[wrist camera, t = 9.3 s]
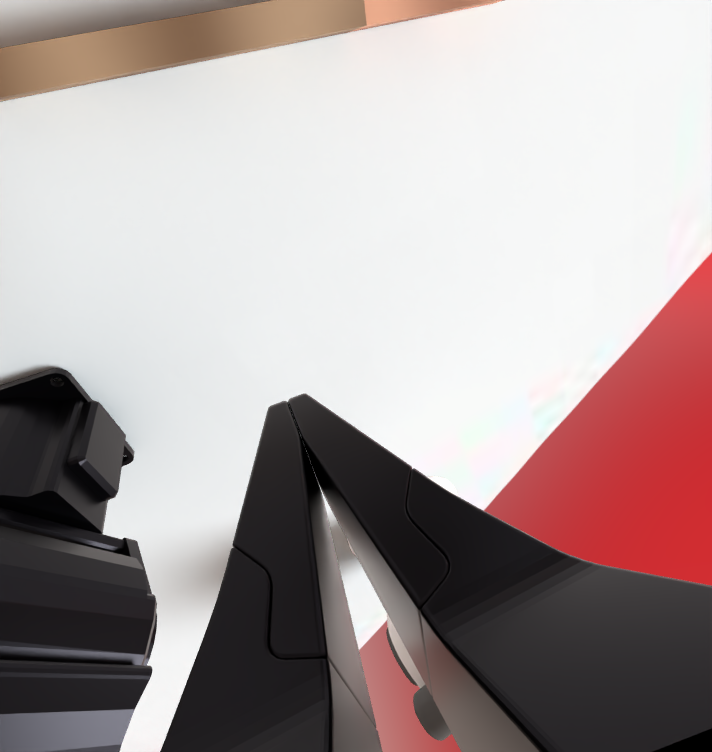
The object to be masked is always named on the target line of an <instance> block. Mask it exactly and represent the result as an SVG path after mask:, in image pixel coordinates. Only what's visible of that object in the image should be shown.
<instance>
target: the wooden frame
mask: <svg viewBox="0 0 712 752" xmlns="http://www.w3.org/2000/svg"><path fill="white" fill-rule="evenodd" d="M500 1H503V0H272V1H266V2H260V3H255V4H249V5H243V6H237V7H232V8H226V9H220V10H215V11H209V12H203V13H197V14H192V15H186V16H180V17H175V18H169V19H163V20H158V21H152V22H146V23H140V24H135V25H129V26H123V27H118V28H112V29H106V30H100V31H95V32H89V33H83V34H78V35H72V36H66V37H61V38H55V39H49V40H43V41H38V42H32V43H26V44H21V45H15V46H9V47H3V48H0V101H5V100H10V99H15V98H20V97H26V96H31V95H36V94H41V93H46V92H51V91H56V90H61V89H66V88H71V87H76V86H81V85H86V84H91V83H96V82H101V81H106V80H111V79H116V78H121V77H126V76H131V75H136V74H141V73H146V72H151V71H156V70H161V69H166V68H171V67H176V66H181V65H187V64H192V63H197V62H202V61H207V60H212V59H217V58H222V57H227V56H232V55H237V54H242V53H247V52H252V51H257V50H262V49H267V48H272V47H277V46H282V45H287V44H292V43H297V42H302V41H307V40H312V39H317V38H322V37H327V36H332V35H337V34H342V33H348V32H353V31H358V30H363V29H368V28H373V27H378V26H383V25H388V24H393V23H398V22H403V21H408V20H413V19H418V18H423V17H428V16H433V15H438V14H443V13H448V12H453V11H458V10H463V9H468V8H473V7H478V6H483V5H488V4H493V3H496V2H500Z"/></svg>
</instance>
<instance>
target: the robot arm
mask: <svg viewBox="0 0 712 752" xmlns="http://www.w3.org/2000/svg"><path fill="white" fill-rule="evenodd" d="M53 378H61V379H62V380H63V382H57V381H55V380H53ZM288 403H289V404H288ZM289 406H290V407H289ZM291 411H292V412H291ZM294 419H295V420H294ZM297 427H298V428H297ZM299 432H300V433H299ZM300 435H301V436H300ZM125 438H126V435H125V434H124V432H123V431H122V430H121V429H120V427H119V426H118V425H117V424H116V422H115V421H114V420H113V419H112V417H111V416H110V415H109V414H108V413H107V411H106V410H105V409H104V408H103V406H102V405H101V404H100V403H99V402H97V401H94V400H92V399H91V398H90V397H89V395H88V394H87V393H86V392H85V391H84V389H83V388H82V387H81V386H80V384H79V383H78V382H77V381H76V380H75V378H74V377H73V376H72V375H71V374H70V373H69V372H68V371H67V370H64V369H60V368H55V369H50V370H47V371H44V372H41V373H38V374H35V375H32V376H29V377H26V378H23V379H19V380H16V381H13V382H10V383H7V384H4V385H1V386H0V752H119V751H120V748H121V744H122V741H123V739H124V736H125V733H126V731H127V728H128V725H129V723H130V720H131V717H132V715H133V712H134V709H135V707H136V705H137V703H138V701H139V699H140V697H141V695H142V693H143V691H144V689H145V687H146V685H147V683H148V681H149V680H150V677H151V675H152V667H151V666H147V663H148V661H149V658H150V655H151V652H152V648H153V645H154V640H155V634H156V627H157V614H156V608H157V603H156V598H155V596H154V595H153V594H152V593H151V589H150V585H149V582H148V578H147V575H146V571H145V568H144V564H143V561H142V557H141V554H140V550H139V547H138V543H137V541H135V540H132V539H128V538H123V539H118V538H114V537H111V536H107V535H103V528H104V521H105V515H106V509H107V502H108V500H109V499H112V498H114V497H116V494H117V492H118V489H119V481H120V474H121V467H122V466H124V465H127V464H129V463H131V462H132V461H133V458H134V451H133V449H132V448H131V447H130V445H129V444H128V443H127V442H126V441H125ZM302 440H303V441H302ZM303 443H304V444H303ZM305 448H306V449H305ZM306 451H307V452H306ZM123 455H126V456H125V457H123ZM308 456H309V457H308ZM309 459H310V460H309ZM311 464H312V465H311ZM313 469H314V470H313ZM314 472H315V473H314ZM316 477H317V478H316ZM317 480H318V481H317ZM319 485H320V486H319ZM320 487H321V489H320ZM321 490H322V492H323V494H324V496H325V498H326V500H327V502H328V504H329V506H330V508H331V510H332V512H333V513H334V515H335V517H336V519H337V521H338V523H339V525H340V526H341V528H342V530H343V532H344V534H345V536H346V538H347V539H348V541H349V543H350V545H351V547H352V549H353V551H354V552H355V554H356V556H357V558H358V560H359V562H360V564H361V566H362V567H363V569H364V571H365V573H366V575H367V577H368V579H369V580H370V582H371V584H372V586H373V588H374V590H375V592H376V593H377V595H378V597H379V599H380V601H381V603H382V605H383V606H384V608H385V610H386V612H387V614H388V616H389V618H390V619H391V621H392V623H393V625H394V627H395V629H396V631H397V632H398V634H399V636H400V638H401V640H402V642H403V644H404V646H405V647H406V649H407V651H408V653H409V655H410V657H411V659H412V660H413V662H414V664H415V666H416V668H417V670H418V672H419V673H420V675H421V677H422V679H423V681H424V683H425V685H426V686H427V688H428V690H429V692H430V694H431V695H432V696H433V699H434V701H435V703H436V705H437V707H438V709H439V711H440V713H441V714H442V716H443V718H444V720H445V722H446V724H447V726H448V727H449V729H450V731H451V733H452V735H453V737H454V739H455V741H456V742H457V744H458V746H459V748H460V750H461V751H462V752H712V586H710V585H705V584H700V583H694V582H689V581H684V580H678V579H673V578H668V577H663V576H657V575H652V574H647V573H641V572H636V571H631V570H626V569H620V568H615V567H610V566H605V565H600V564H596V563H592V562H589V561H585V560H582V559H580V558H577V557H574V556H571V555H569V554H566V553H564V552H562V551H559V550H557V549H555V548H553V547H551V546H549V545H547V544H545V543H543V542H542V541H539V540H538V539H536V538H534V537H532V536H530V535H528V534H526V533H525V532H523V531H521V530H519V529H517V528H515V527H513V526H511V525H509V524H507V523H506V522H504V521H502V520H500V519H498V518H496V517H494V516H492V515H491V514H489V513H487V512H485V511H483V510H481V509H479V508H477V507H476V506H474V505H472V504H470V503H469V502H467V501H465V500H463V499H461V498H460V497H458V496H456V495H454V494H453V493H451V492H449V491H448V490H446V489H445V488H443V487H442V486H440V485H438V484H437V483H435V482H434V481H432V480H431V479H429V478H428V477H426V476H425V475H423V474H422V473H421V472H419V471H418V470H416V469H412V467H411V466H410V465H409V464H407V463H406V462H404V461H403V460H401V459H400V458H399V457H397V456H396V455H394V454H393V453H391V452H390V451H388V450H387V449H386V448H384V447H383V446H381V445H380V444H378V443H377V442H375V441H374V440H372V439H371V438H370V437H368V436H367V435H365V434H364V433H362V432H361V431H359V430H358V429H357V428H355V427H354V426H352V425H351V424H349V423H348V422H346V421H345V420H344V419H342V418H341V417H339V416H338V415H336V414H335V413H333V412H332V411H331V410H329V409H328V408H326V407H325V406H323V405H322V404H320V403H319V402H318V401H316V400H315V399H313V398H312V397H310V396H309V395H307V394H301V395H298V396H296V397H293V398H290V399H289V401H288V402H287V401H282V402H280V403H277V404H274V405H272V406H270V407H269V408H268V411H267V415H266V419H265V423H264V426H263V430H262V434H261V438H260V442H259V445H258V449H257V453H256V457H255V461H254V464H253V468H252V472H251V476H250V480H249V484H248V487H247V491H246V495H245V499H244V503H243V506H242V510H241V514H240V518H239V522H238V525H237V529H236V533H235V537H234V541H233V547H234V548H232V549H231V551H230V555H229V559H228V563H227V567H226V571H225V574H224V577H223V581H222V584H221V588H220V591H219V594H218V598H217V601H216V604H215V607H214V610H213V613H212V615H211V618H210V621H209V624H208V627H207V630H206V632H205V635H204V638H203V641H202V643H201V646H200V649H199V651H198V654H197V657H196V659H195V662H194V665H193V667H192V670H191V672H190V675H189V678H188V680H187V683H186V686H185V688H184V691H183V694H182V696H181V699H180V702H179V704H178V707H177V710H176V712H175V715H174V717H173V720H172V723H171V725H170V728H169V731H168V733H167V736H166V739H165V741H164V744H163V746H162V749H161V751H160V752H382V748H381V744H380V740H379V735H378V731H377V730H376V723H375V718H374V714H373V710H372V706H371V701H370V697H369V693H368V688H367V684H366V680H365V676H364V671H363V667H362V662H361V658H360V654H359V650H358V645H357V641H356V637H355V632H354V628H353V624H352V620H351V615H350V611H349V607H348V602H347V598H346V594H345V589H344V585H343V581H342V577H341V572H340V568H339V564H338V559H337V555H336V551H335V547H334V542H333V538H332V534H331V529H330V525H329V521H328V517H327V512H326V508H325V504H324V500H323V496H322V492H321Z"/></svg>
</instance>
